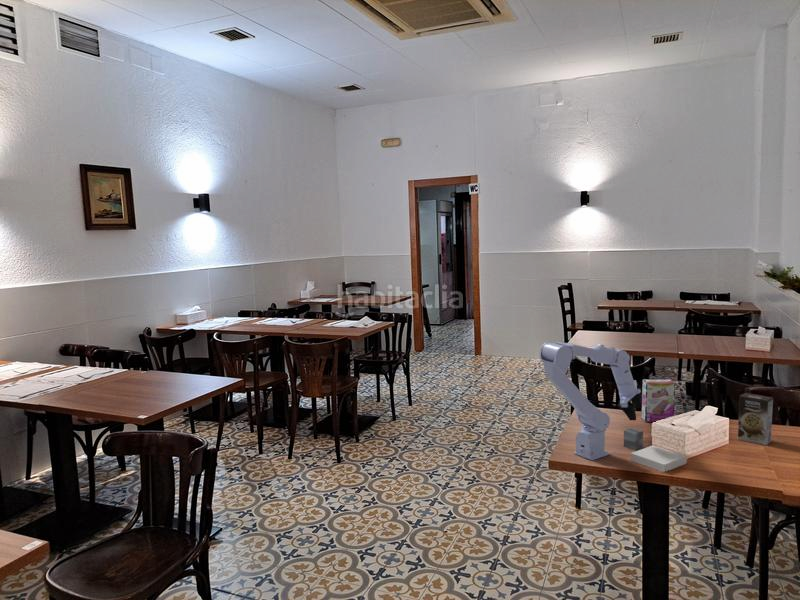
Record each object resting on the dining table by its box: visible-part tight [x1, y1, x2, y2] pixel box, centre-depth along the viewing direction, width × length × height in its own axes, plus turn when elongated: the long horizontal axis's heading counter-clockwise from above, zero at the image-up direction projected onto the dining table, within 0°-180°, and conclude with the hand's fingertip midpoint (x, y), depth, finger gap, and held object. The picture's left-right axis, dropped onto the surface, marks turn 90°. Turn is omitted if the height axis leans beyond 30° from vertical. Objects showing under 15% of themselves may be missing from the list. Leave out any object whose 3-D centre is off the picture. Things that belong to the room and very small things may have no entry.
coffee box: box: [737, 392, 774, 446], centre depth 200 cm, size 9×6×16 cm
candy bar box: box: [641, 379, 676, 423], centre depth 224 cm, size 11×5×16 cm, turn 84°
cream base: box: [630, 444, 688, 473], centre depth 184 cm, size 12×12×2 cm
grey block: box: [623, 427, 644, 451], centre depth 198 cm, size 4×4×6 cm
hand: (635, 413), depth 198 cm, fingers open, 7 cm apart
